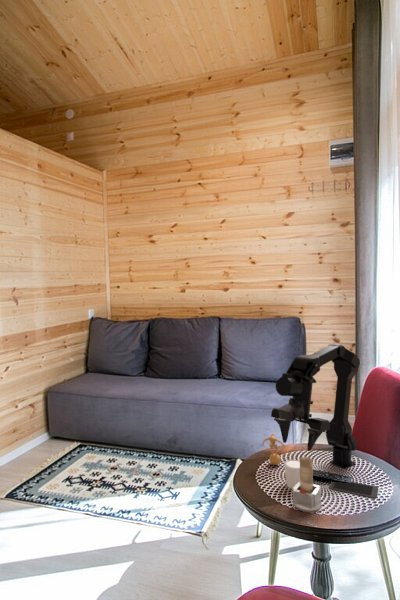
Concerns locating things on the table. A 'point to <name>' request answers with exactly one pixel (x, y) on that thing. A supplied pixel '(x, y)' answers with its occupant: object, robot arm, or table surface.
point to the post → (306, 474)
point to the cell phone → (355, 489)
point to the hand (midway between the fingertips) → (296, 446)
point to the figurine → (274, 456)
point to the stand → (307, 499)
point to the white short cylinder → (292, 472)
